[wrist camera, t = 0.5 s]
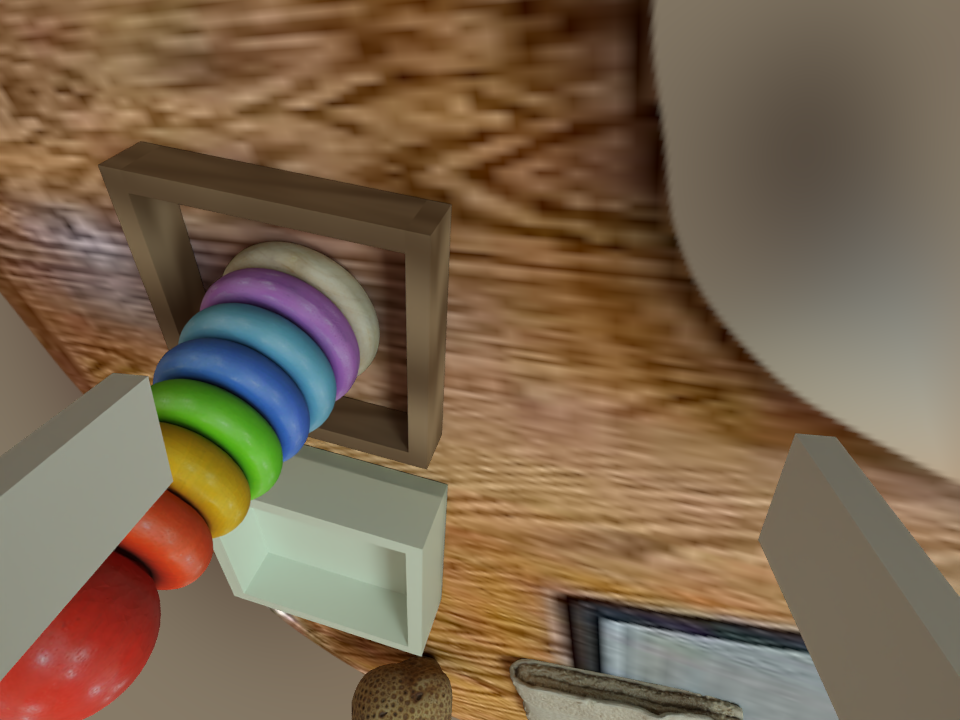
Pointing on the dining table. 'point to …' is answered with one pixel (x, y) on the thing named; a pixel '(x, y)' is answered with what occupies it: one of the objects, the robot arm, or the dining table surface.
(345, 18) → the dining table surface
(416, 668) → the natural sponge
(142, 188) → the walnut holder
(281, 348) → the stacking toy
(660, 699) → the washcloth
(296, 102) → the dining table surface
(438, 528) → the sage tray
